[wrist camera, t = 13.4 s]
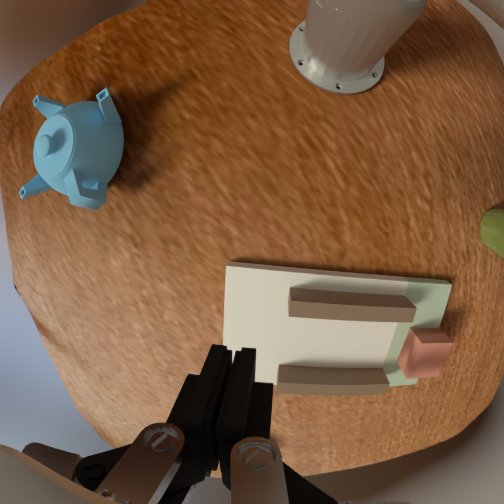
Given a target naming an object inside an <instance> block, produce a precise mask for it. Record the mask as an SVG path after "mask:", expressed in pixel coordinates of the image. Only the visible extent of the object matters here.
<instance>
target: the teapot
mask: <svg viewBox="0 0 504 504" xmlns="http://www.w3.org/2000/svg"><path fill="white" fill-rule="evenodd" d="M96 97H97V99H98V102H96V101H84V102H78V103H74V104H71V105H69V106H68V105H65V104H63V103H60V102H57V101H54V100H51V99H49V98H46V97H43V96H40V95H37V96H36V97H35V98H34V100H33V104H34V107H36V108H37V109H38V110H39V111H40V112H41V113H42V114H43V115H44V116H45V117H46V118H47V119H48V120H46V121H45V123H44V124H43V125H42V127H41V128H40V130H39V132H38V134H37V137H36V140H35V144H34V152H33V155H34V163H35V167H36V169H37V171H38V174H37V175H36V176H35V177H33V178H32V179H31V180H30V181H29V182H28V183H27V184H26V185H24V186H23V187H22V189H21V190H20V192H19V194H20V196H21V198H22V199H25V198H27V197H30V196H33V195H36V194H39V193H42V192H45V191H48V190H51V189H55V190H56V191H58V192H60V193H62V194H65V195H68V196H69V199H70V203H71V204H72V205H76V206H81V207H85V208H89V209H94V210H97V209H98V208H100V207H101V206H102V205H103V204H104V203H106V194H107V185H108V182H109V181H110V180H111V179H112V177H113V176H114V174H115V172H116V171H117V169H118V166H119V164H120V161H121V158H122V154H123V148H124V134H123V128H122V125H121V123H122V121H121V119H120V117H119V114H118V112H117V110H116V108H115V105H114V103H113V101H112V98H111V96H110V94H109V91H108V89H107V88H105V89H104V90H102V91H101V92H100V93H99V94H97V95H96Z"/></svg>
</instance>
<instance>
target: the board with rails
mask: <svg viewBox="0 0 504 504" xmlns="http://www.w3.org/2000/svg"><path fill="white" fill-rule="evenodd" d="M451 287H452V284H451V283H449V282H448V281H446V280H438V279H425V278H412V277H399V276H387V275H374V274H362V273H351V272H339V271H328V270H317V269H306V268H295V267H284V266H273V265H263V264H252V263H242V262H232V261H229V262H228V264H227V265H226V281H225V305H224V334H223V345H224V346H227V350H232V363H233V359H234V356H235V352H236V350H238V351H241V349H242V347H245V348H256V369H255V382H266V383H273V384H274V385H277V389H276V393H286V394H303V395H373V394H386V391H387V389H388V387H389V386H398V385H411V384H416V382H417V380H418V378H414V379H406V377H405V375H404V373H403V372H402V370H401V368H400V366H399V364H398V363H397V359H398V357H399V354H400V352H401V349H402V347H403V344H404V342H405V339H406V336H407V334H408V331H409V328H410V327H413V328H439V326H440V323H441V320H442V317H443V314H444V311H445V308H446V305H447V301H448V298H449V295H450V291H451Z"/></svg>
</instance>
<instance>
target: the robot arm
mask: <svg viewBox="0 0 504 504" xmlns="http://www.w3.org/2000/svg"><path fill="white" fill-rule="evenodd" d="M469 1H470V2H471V3H473V4H474V5H475V6H477V7H478V8H479V9H480V10H482V11H483V12H484V13H485V14H487V15H488V16H489V17H490V18H491V19H492V20H494V21H495V22H496V23H497V24H498V25H499V26H500V27H502V28H503V29H504V0H469ZM426 3H427V0H309V2H308V8H307V15H306V20H305V21H303V22H302V23H300V24H299V25H298V26H297V27H296V28H295V30H294V31H293V33H292V35H291V38H290V44H289V52H290V57H291V60H292V62H293V64H294V66H295V68H296V69H297V71H298V72H299V73H300V74H301V75H302V76H303V77H304V78H305V79H306V80H307V81H308V82H310V83H311V84H312V85H314V86H316V87H318V88H320V89H322V90H325V91H327V92H330V93H335V94H340V95H352V94H358V93H361V92H364V91H366V90H368V89H370V88H371V87H372V86H374V85H375V84H376V83H377V82H378V81H379V79H380V78H381V76H382V74H383V71H384V66H385V61H384V55H385V54H386V53H387V52H388V51H389V50H390V48H391V47H392V46H393V45H394V44H395V43H396V42H397V41H398V39H399V38H400V37H401V36H402V35H403V34H404V33H405V32H406V31H407V30H408V28H409V27H410V26H411V25H412V24H413V23H414V22H415V21H416V20H417V18H418V17H419V16H420V15H421V14H422V12H423V11H424V8H425V6H426ZM302 31H303V32H302ZM299 64H302V65H299ZM373 76H374V77H373ZM336 87H339V89H337V88H336ZM255 369H256V348H245V347H242V349H241V351H238V350H236V352H235V356H234V359H233V363H232V350H227V346H224V345H215V344H212V346H211V348H210V351H209V353H208V356H207V358H206V361H205V363H204V366H203V368H202V371H201V373H200V375H194V374H189V375H188V376H187V377H186V380H185V382H184V384H183V386H182V388H181V391H180V393H179V395H178V397H177V399H176V402H175V404H174V406H173V408H172V410H171V413H170V415H169V417H168V419H167V421H166V423H154V424H151V425H149V426H147V427H145V428H144V429H143V430H142V431H141V432H140V434H139V435H138V436H137V438H136V439H135V440H134V441H133V443H132V444H129V445H126V446H123V447H119V448H116V449H113V450H109V451H106V452H102V453H99V454H94V455H91V456H88V457H85V458H82V457H80V456H79V455H78V454H75V453H71V452H67V451H63V450H60V449H56V448H53V447H50V446H47V445H44V444H41V443H35V442H34V443H29V444H28V445H26V446H25V448H24V449H23V451H22V452H20V451H18V450H16V449H13V448H11V447H8V446H5V445H1V444H0V504H187V503H188V501H189V499H190V498H191V495H192V494H193V492H194V490H195V488H196V484H197V483H199V482H201V481H203V480H204V479H205V476H207V477H210V474H211V470H214V471H216V470H217V468H218V464H219V462H220V470H221V473H222V481H223V484H224V485H225V486H226V487H227V488H228V489H229V490H230V491H231V504H411V503H409V502H363V501H348V502H337V501H335V500H334V499H333V498H331V497H330V496H328V495H327V494H326V493H324V492H323V491H321V490H320V489H318V488H317V487H316V486H314V485H313V484H311V483H310V482H309V481H307V480H306V479H305V478H303V477H302V476H300V475H299V474H298V473H297V472H295V471H294V470H293V469H291V468H290V467H289V466H288V465H286V464H285V463H284V462H283V461H282V456H281V452H280V449H279V447H278V446H277V445H276V444H275V443H274V442H272V441H271V440H269V438H270V425H271V412H272V397H273V383H266V382H255Z"/></svg>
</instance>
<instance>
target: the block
mask: <svg viewBox="0 0 504 504" xmlns="http://www.w3.org/2000/svg"><path fill="white" fill-rule="evenodd" d="M453 344H454V342H453V341H452V340H451V339H450V338H449V337H448V336H447V335H446V334H445V332H444V331H443V330H442V329H441V328H413V327H410V328H409V331H408V334H407V336H406V339H405V342H404V344H403V347H402V349H401V352H400V354H399V357H398V359H397V363H398V364H399V366H400V368H401V370H402V372H403V373H404V375H405V377H406V379H414V378H428V377H438V376H439V374H440V372H441V370H442V368H443V366H444V364H445V361H446V359H447V357H448V355H449V353H450V351H451V348H452V346H453Z"/></svg>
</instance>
